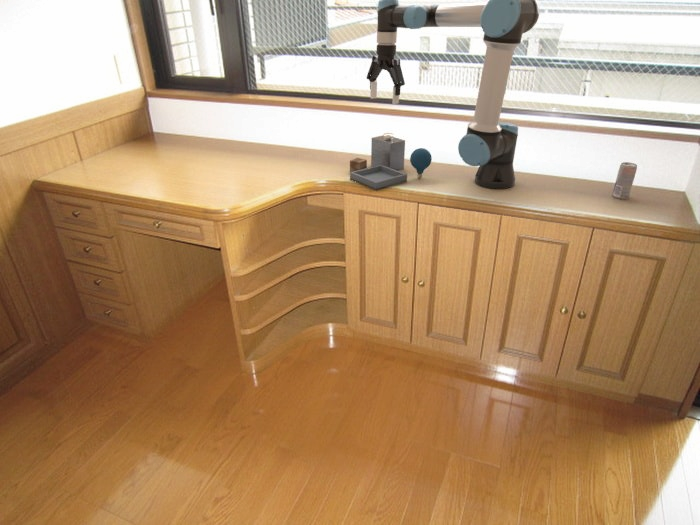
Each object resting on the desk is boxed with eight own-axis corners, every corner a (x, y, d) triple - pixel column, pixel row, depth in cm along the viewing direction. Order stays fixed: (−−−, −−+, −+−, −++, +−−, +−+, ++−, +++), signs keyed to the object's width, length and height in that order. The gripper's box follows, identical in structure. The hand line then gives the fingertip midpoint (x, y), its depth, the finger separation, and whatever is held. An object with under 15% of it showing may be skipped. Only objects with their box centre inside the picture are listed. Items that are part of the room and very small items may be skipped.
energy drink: (623, 193, 179) (632, 162, 174) (631, 199, 175) (640, 166, 169) (609, 194, 179) (617, 162, 173) (616, 199, 174) (625, 166, 169)
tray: (406, 181, 193) (407, 174, 191) (375, 190, 184) (376, 182, 183) (380, 171, 204) (380, 164, 202) (350, 179, 195) (349, 172, 194)
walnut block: (366, 171, 205) (366, 159, 202) (359, 174, 201) (359, 162, 199) (357, 169, 207) (357, 157, 205) (349, 172, 204) (349, 160, 201)
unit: (403, 168, 207) (405, 135, 201) (389, 172, 203) (390, 138, 196) (384, 162, 216) (385, 130, 209) (370, 165, 212) (371, 132, 205)
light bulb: (429, 175, 200) (431, 145, 194) (430, 181, 192) (432, 151, 187) (409, 174, 200) (410, 145, 195) (409, 181, 193) (410, 151, 187)
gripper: (416, 46, 182) (412, 104, 192) (373, 40, 199) (371, 95, 209) (401, 47, 178) (398, 107, 188) (358, 41, 195) (357, 97, 205)
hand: (384, 101), depth 199 cm, fingers open, 13 cm apart
